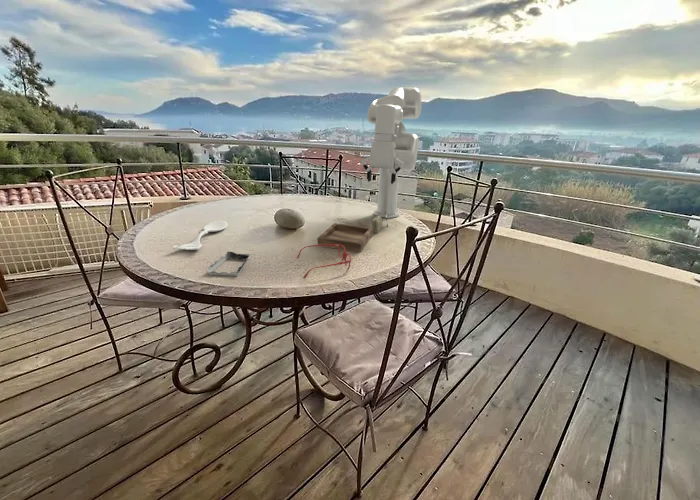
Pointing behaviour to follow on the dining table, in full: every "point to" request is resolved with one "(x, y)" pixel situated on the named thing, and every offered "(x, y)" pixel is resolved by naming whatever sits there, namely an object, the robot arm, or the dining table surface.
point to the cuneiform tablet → (378, 223)
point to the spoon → (207, 228)
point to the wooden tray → (346, 237)
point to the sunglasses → (344, 256)
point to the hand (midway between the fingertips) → (380, 182)
